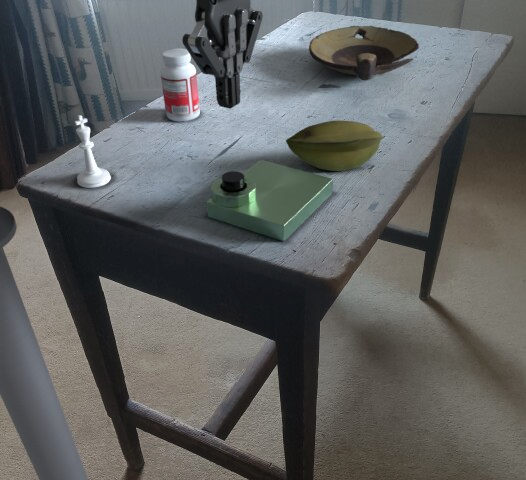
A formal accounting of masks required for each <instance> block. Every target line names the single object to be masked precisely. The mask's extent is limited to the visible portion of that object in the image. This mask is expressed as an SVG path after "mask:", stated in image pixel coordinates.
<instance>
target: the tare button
mask: <svg viewBox="0 0 526 480" xmlns="http://www.w3.org/2000/svg"><path fill="white" fill-rule="evenodd" d="M243 173H244V172H243ZM243 173H242V172H241V171H237V170H230V171H227V172H224V173H223V174H222V175H221V177H222V188H223V190H224V191H226V192H240V191H243V190H244V189H245V180H244V174H243Z"/></svg>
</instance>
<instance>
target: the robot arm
mask: <svg viewBox="0 0 526 480" xmlns="http://www.w3.org/2000/svg"><path fill="white" fill-rule="evenodd" d="M195 2H196V3H195V10H194V21H195V26H194V28H193V30H192V32H191V34H189V33H184V34H183V36H182V44H183V46H184V49H187V51H188V52H189V54H190V57H191V59H192V60H193V61H194V63H195V64H196V66H197V67H198V69H199V70H200V72H201V73H202V74H203V75H210V76H213V77H214V81H215V94H216V95H215V97H216V102H217V105H218V106H219V107H222V108H226V109H232V108H234V107H236V106H237V105H239V104H240V103H241V77H240V76H241V75H240V74H241V73H242V71H243V68H244V64H245V63H247V64H248V63H250V61H251V59H252V56H253V52H254V48H255V45H256V42H257V40H258V39H257V38H258V35H259V31H260V28H261V25H262V22H263V18H264V16H263V15H264V14H263V11H261V10H254V9H253V8H252V7H251V0H195Z"/></svg>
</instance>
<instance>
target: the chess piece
mask: <svg viewBox="0 0 526 480" xmlns="http://www.w3.org/2000/svg"><path fill="white" fill-rule="evenodd" d="M85 123H88V118H86V117H83V115H82V114H79V115H77V120H75V121H74V125H75V126H78V127H77V128H76V129H75V133H76V135H77V136H78V137H79V140H80V141H81V142H80V143H79V144H78V148H79V149H81V150H83V155H84V163H85V168H84V170H83V171H81V172H79V173H78V174H77V176H76V179H77V181H76V182H77V184H78V185H79V186H80V187H82V188H87V189H92V188H93V189H94V188H99V187H102V186H105V185H107V184H108V183H109V182H110V181H111V179H112V176H111V174H110V172H109V171H108V170H107V169H105V168H102V167H99V166H98V165H97V162H96V160H95V157H94V154H93V151H92V148H94V146H95V144H94V142H93V141H91V140H90V135H91V128H90V126H86V125H85Z"/></svg>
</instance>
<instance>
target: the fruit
mask: <svg viewBox="0 0 526 480" xmlns="http://www.w3.org/2000/svg"><path fill="white" fill-rule="evenodd" d="M383 139H384V137H383V135H382V133H381V132H380V131H377V130H374V128H373V127H372V126H371V125H368V124H365V123H363V122H359V121H353V120H328V121H324V122H319V123H316V124H312V125H309V126H307V127H304V128H303V129H301V130H299V131H297V132H296V133H295V134H293V135H291V136H290V137H288V138H287V139H286V140H285V142H286V144H287V146H288V149H289V150H290V151H291V152H292V153H293V155H296V157H298V158H299V159H300V160H302V161H303V162H305V163H306V164H309V166H311V167H314V168H316V169H319V170H324V171H330V172H344V171H350V170H354V169H357V168H360V167H361V166H363V165H364V164H366V163H367V162H368V161H370V160H371V158H373V157H374V155H376V153H377V152H378V150H379V147H380V143H381V141H382V140H383Z"/></svg>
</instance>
